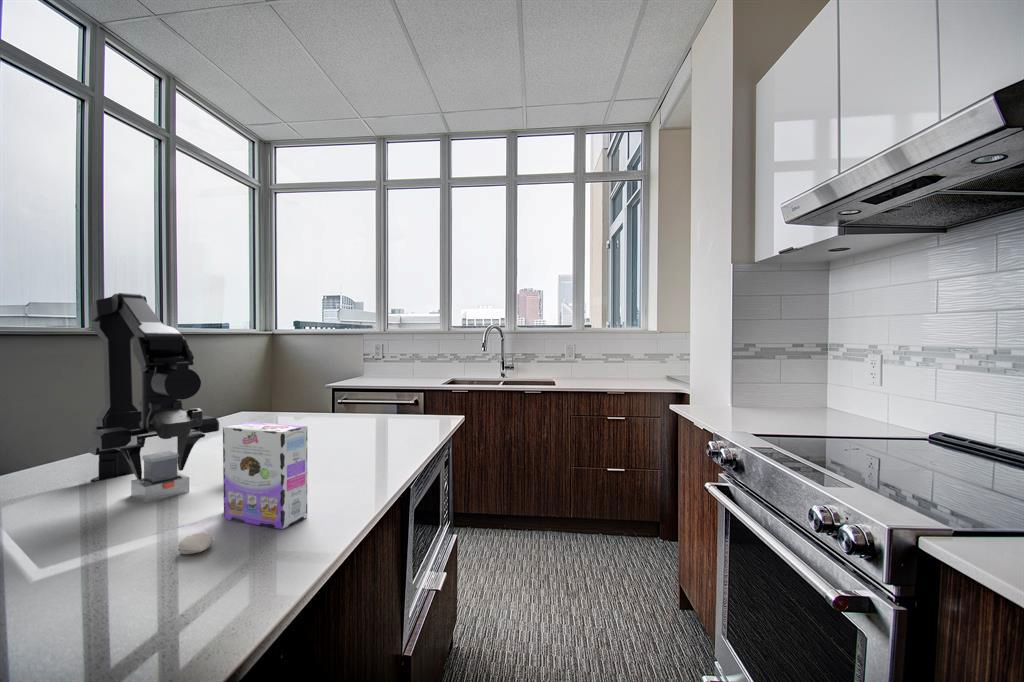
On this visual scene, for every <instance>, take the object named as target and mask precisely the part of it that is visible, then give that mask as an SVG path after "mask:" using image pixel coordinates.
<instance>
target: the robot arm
mask: <svg viewBox="0 0 1024 682" xmlns="http://www.w3.org/2000/svg"><path fill="white" fill-rule="evenodd" d="M147 300H148V299H147V297H146V296H145V295H142V294H140V293H127V292H119V293H114V294H112V295H111V296H109V297H105V298H100V299H97V300H95V301H94V302H93V303H92V304H91V305H90V306H89V309H88V319H89V321H90V322H92V323H91V324H92V330H93V331H94V332H95V334H96V335H98V337H99V339H100V340H101V341H102V343H103V345H102V346H103V375H104V401H105V402H104V407H103V409H102V410H101V411H100V413H99V414H97V415H98V416H97V417H96V418H95V426H94V427H93V428H92V430H91V431H92V432H91V433H90V437H89V440H88V442H87V449H88V453H89V454H91V455H94V456H98V466H97V467H98V468H97V469H98V476H96V477H94V478H91V479H90V483H94V482H99V481H106V480H110V479H116V478H120V477H125V476H129V475H134V476H135V478H136V479H138V480H140V479H142V478H143V469H142V468H143V467H142V461H141V460H142V457H141V450H142V448H144V447H145V444H146V439H147V438H152V437H154V438H155V437H158V438H159V439H162V440H169V439H172V438H176V437H177V441H176V442H177V446H176V447H177V450H176V451H177V452H176V453H177V454H179V457H177V471H183V470H184V469H185V466H186V464H187V461H188V458H189V456H190V454H191V453H192V449H193V448H194V446H195V445H196V443H197V442H198V441H199V440H200V439H201V438H205V437H206V434H211V433H215V432H219V431H220V421H219V419H218V418H217V417H213V416H209V415H203V410H202V409H201V408H200V407H197V408H196V407H195V408H189V409H187V410H184V409H183V402H182V400H187V399H189V398H191V397H194V396H195V395H196V394H198V392H199V391H200V388H201V385H202V380H201V379H200V378H201V377H200V375H198V373H197V372H196V371H194V370H192V369H190V367H189V366H193V365H194V358H195V357H194V354H193V352H192V350H191V348H190V346H189V344H188V342H187V340H186V338H185V337H184V335H183V334H182V333H181V332H180V331H178V330H177V328H175V327H173V326H169V325H167V324H164V323H162V321H161V320H160V319H159V317H158V316H157V315H156V313H155V312H154V311H153V309H152V308H151V307H150V305H149V304H148V301H147ZM134 336H135V337H134ZM133 337H134V338H133ZM132 339H133V341H131V340H132ZM131 342H132V345H131ZM131 346H132V347H131ZM132 352H133V355H134V356H135V358H136V360H137V363H138V364H139V365H140V371H141V400H139V407H141V410H139V409H138V408H137V407H136V406H135V405H134V404H133V403H134V401H133V376H132V370H133V369H132Z"/></svg>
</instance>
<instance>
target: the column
mask: <svg viewBox="0 0 1024 682" xmlns="http://www.w3.org/2000/svg"><path fill="white" fill-rule="evenodd" d="M177 457H179V454H177V452H174V451H172V450H171V451H170V450H165V451H160V452H155V453H150V454H146V455H145V454H144V455H142V456H141V460H143V478H144V481H141V482H143V483H145V484H147V485H152V484H157V483H161V482H165V481H170V480H174V479H178V478H177V472H178V463H177Z"/></svg>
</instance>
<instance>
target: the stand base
mask: <svg viewBox="0 0 1024 682" xmlns="http://www.w3.org/2000/svg"><path fill="white" fill-rule="evenodd" d="M177 478H178V479H174V480H170V481H165V482H161V483H157V484H152V485H147V484H145V483H143V482H141V481H144V477H142V479H140V480H138V479H137V478H136V479H132V480H130V481H131V485H130V487H131V488H130V489H131V490H130V493H131V494H130V495H131V497H133V498H135V499H137V500H139V501H140V502H143V503H144V504H148V503H152V502H155V501H160V500H163V499H167V498H171V497H175V496H178V495H182V494H187V493H190V477H189V476H188V475H185V474H183V473H180V472H178V471H177Z"/></svg>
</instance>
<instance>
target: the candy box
mask: <svg viewBox="0 0 1024 682" xmlns="http://www.w3.org/2000/svg"><path fill="white" fill-rule="evenodd" d="M222 452H223V453H222V458H223V459H222V460H223V461H222V468H223V469H222V470H223V471H222V472H223V520H226V521H227V520H228V521H235V522H239V523H245V524H250V525H256V526H257V525H258V526H261V527H268V528H273V529H280V530H284V529H285V528H288V527H289V526H292V525H294V524H296V523H298V522H300V521H302V520H304V519H307V518H308V426H306V425H293V424H292V425H291V424H282V423H280V424H279V423H272V422H271V423H270V422H257V421H246V422H242V423H237V424H232V425H228V426H224V427H222Z"/></svg>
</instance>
